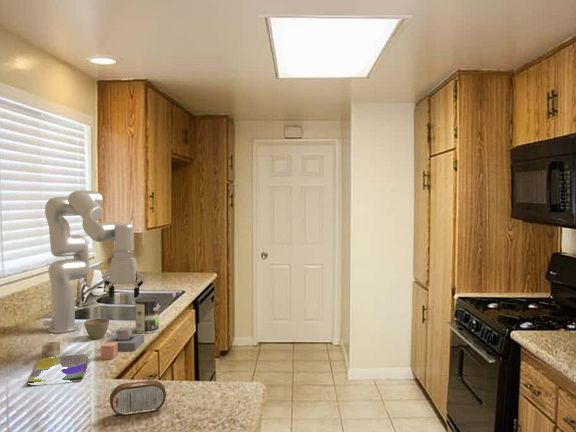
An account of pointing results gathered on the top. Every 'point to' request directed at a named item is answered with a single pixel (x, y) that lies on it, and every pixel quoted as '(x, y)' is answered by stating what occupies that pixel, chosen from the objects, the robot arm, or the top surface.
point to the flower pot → (96, 327)
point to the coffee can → (147, 315)
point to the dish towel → (73, 362)
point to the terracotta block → (109, 350)
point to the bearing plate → (128, 343)
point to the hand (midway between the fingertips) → (124, 297)
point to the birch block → (50, 349)
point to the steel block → (124, 334)
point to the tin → (137, 396)
